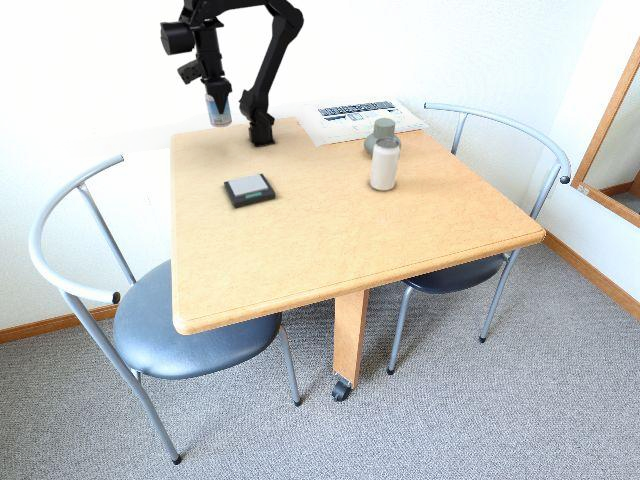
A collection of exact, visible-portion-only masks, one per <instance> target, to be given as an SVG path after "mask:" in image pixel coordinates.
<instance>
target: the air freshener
mask: <svg viewBox="0 0 640 480" xmlns="http://www.w3.org/2000/svg"><path fill="white" fill-rule="evenodd" d="M395 130H396V121H395V120H394V119H392V118H390V117H389V118H388V117H380V118H377V119H375V121H374V124H373V132H372V133H370V134H368V135H367V136H366V137H365V139H364V141H363V147H364V148H363V149H364V150H365V151H366V153H368V154H369V155H370V156H372V157H373V149H374V146H375V144H376V141H377V140H378V139H380V138H392V139H395V140H397V141H398V142H399V148H400V150H402V149H401V148H402V141H401V139H400V138H399V137H398V136H397V135H396V134H395Z"/></svg>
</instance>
